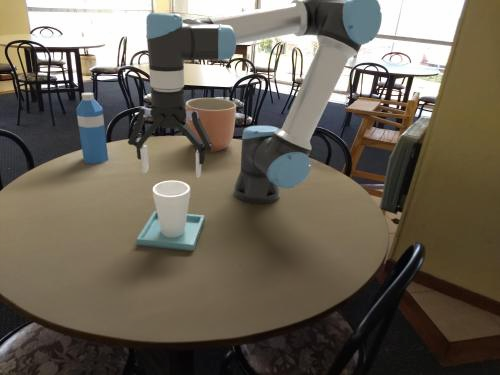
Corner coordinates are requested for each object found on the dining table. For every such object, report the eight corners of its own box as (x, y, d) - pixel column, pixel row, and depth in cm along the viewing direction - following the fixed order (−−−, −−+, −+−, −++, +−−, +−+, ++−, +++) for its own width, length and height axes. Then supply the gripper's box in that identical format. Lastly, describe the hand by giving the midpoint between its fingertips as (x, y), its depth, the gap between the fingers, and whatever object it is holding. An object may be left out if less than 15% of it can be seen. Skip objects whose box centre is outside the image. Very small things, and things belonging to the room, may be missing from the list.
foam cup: (182, 243, 97) (181, 199, 91) (149, 237, 98) (146, 193, 93) (194, 224, 105) (194, 183, 100) (163, 219, 107) (162, 178, 101)
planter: (179, 152, 155) (178, 107, 147) (194, 136, 174) (194, 95, 165) (228, 158, 153) (230, 112, 144) (238, 142, 171) (240, 100, 163)
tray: (204, 221, 108) (204, 215, 107) (193, 251, 95) (193, 244, 94) (155, 216, 109) (154, 210, 108) (137, 245, 96) (136, 239, 95)
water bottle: (103, 164, 139) (95, 97, 128) (78, 163, 139) (68, 95, 128) (112, 155, 148) (105, 91, 137) (88, 153, 148) (79, 90, 137)
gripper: (224, 88, 87) (223, 170, 97) (120, 81, 89) (129, 163, 98) (219, 95, 81) (218, 183, 90) (107, 87, 82) (117, 175, 92)
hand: (172, 173), depth 94 cm, fingers open, 13 cm apart
